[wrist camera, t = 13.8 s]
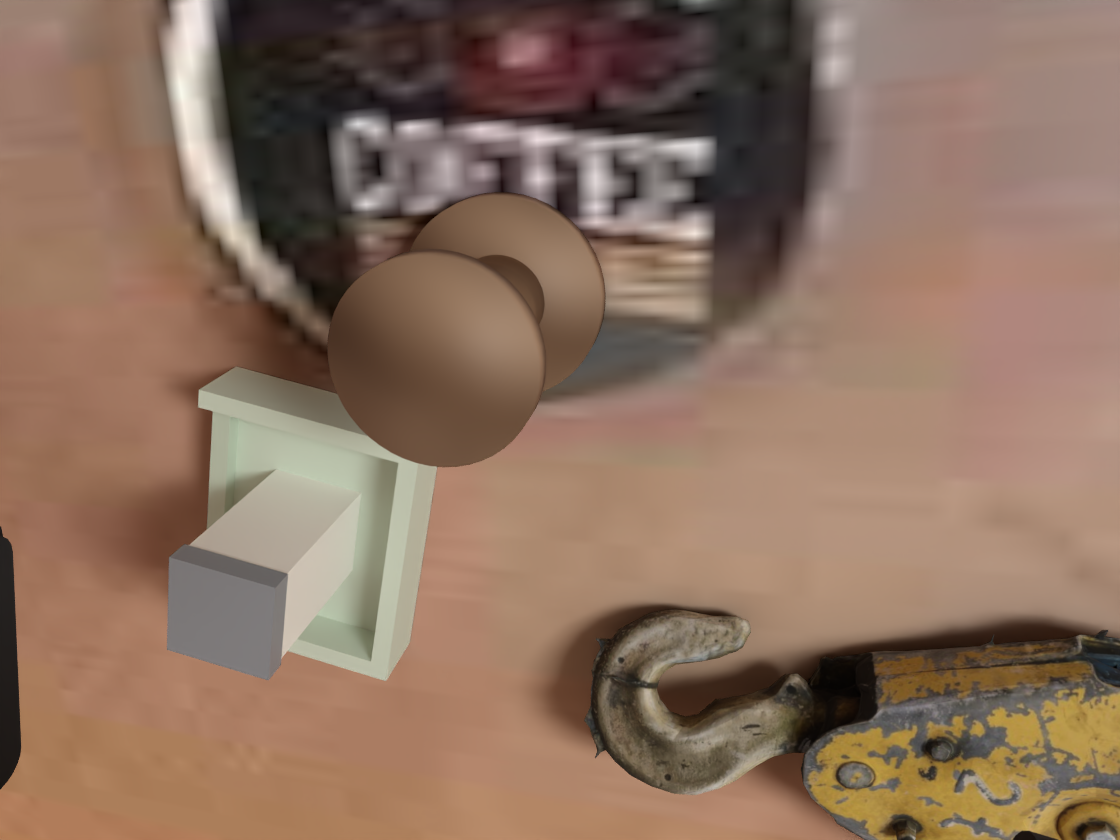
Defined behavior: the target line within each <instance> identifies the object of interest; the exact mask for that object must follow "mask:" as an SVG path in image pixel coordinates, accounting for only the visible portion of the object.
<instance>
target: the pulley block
mask: <svg viewBox="0 0 1120 840" xmlns="http://www.w3.org/2000/svg"><path fill="white" fill-rule="evenodd" d="M1107 632H1108V630H1102V631H1100V632H1099V633H1098V634H1097V635H1095V636H1091V635H1078V636H1075V637H1072V638H1067V639H1052V640H1044V641H1032V642H1012V643H1002V644H996V645H995V644H994V643H993V637H994V635H993V637H992V640H991V642H989V643H986V644H984V645H981V646H976V647H961V648H946V649H931V650H916V651H878V652H868V653H864V654H859V655H852V656H841V657H835V658H834V659H831V658H828V657H823V658H821V660H820V663H819V666H818V668H817V670H816V671H815V673H814V674H813V676H812V678H811V679H810V681H809V682H808V683H807V681H806V680H804V679H803V678H802V677H801V676H800V675H798V674H786V675H784V676H783V677H781V678H780V679H779V680H778V681H777V682H775V683H774V684H773V685H772V686H770V687H769V688H766V689H762V690H758V691H756V692H754V693H752V694H747V695H741V696H735V697H729V698H724V699H715V700H714V701H713V702H712V703H711V704H709V705H708V706H707V707H706V708H705V709H704V710H702V711H701V712H700V713H699V714H697V715H692V716H686V717H685V716H682V715H679V714H676V713H673V712H670V711H669V709H668V708H667V707H666V706H665V705H664V703H663V702H662V701H661V700H660V698H659V695H658V692H657V686H658V683H659V678H660V676H661V675H662V674H663V673H664V672H665V671H666V670H668V669H669V668H671V667H673V666H674V665H676V664H683V663H692V662H700V661H705V660H711V659H716V658H720V657H722V656H724V655H727V654H729V653H733V652H736V651H738V650H739V649H741V648H742V647H743V646H744V644H745V642H746V640H747V638H748V636H749V634H750V633H751V630H750V624H749V622H748V621H747V620H745V619H742V618H740V617H737V616H710V615H705V614H700V613H695V612H690V611H685V610H672V609H671V610H666V611H660V612H654V613H650V614H648V615H646V616H644V617H642V618H640V619H638V620H636V621H634V622H632V623H630V624H628V625H626V626H624V627H623V628H621V629H619V630H618V632H617V633H616V634H615V636H614V637H613V638H612V639H602V638H596V640H597V641H599V644H600V647H601V649H600V651H599V652H598V654H597V656H596V659H595V660H594V664H593V669H592V675H593V681H592V687H591V706H590V708H589V711H588V713H587V715H586V718H585V720H584V721H585V722H586V723H587V725H588V726H589V727H590V730H591V734H592V737H593V739H594V742H595V744H596V747H597V753H596V757H597V756H598V755H599V754H600V752H602V751H604V750H606V751H607V752H608V753H609V755H610V756H611V757H612V758H613V760H614V761H615V762H616V763H617V764H619V765H620V766H621V767H622V768H623V769H624V770H625V771H626V772H628V773H629V774H630V775H631V776H633V777H635V778H637V779H639V780H641V781H642V782H644V783H646V784H648V785H650V786H652V787H655V788H658V789H662V790H665V791H668V792H671V793H674V794H686V795H697V794H701V793H704V792H708V791H712V790H715V789H719V788H721V787H723V786H725V785H727V784H730V783H732V782H734V781H735V780H737V779H738V778H740V777H741V776H743V775H744V774H745V773H747V772H748V771H750V770H751V769H753V768H754V767H755V766H757V765H759V764H761V763H762V762H764V761H766V760H768V759H770V758H772V757H774V756H777V755H783V754H788V753H805V754H804V758H803V763H802V767H801V772H802V778H803V784H804V786H805V787H806V789H807V791H808V793H809V795H810V797H811V798H812V799H813V800H814V801H815V802H816V803H817V804H818V805H820V806H821V807H822V808H823V809H824V810H825V811H826V812H828V813H829V814H830V815H831V816H832V817H833V818H834V819H835V821H836V823H837V824H839V825H840V826H842V827H844V828H845V829H847V830H849V831H851V832H852V833H854V834H856V835H858V836H859V837H861V838H863V839H864V840H1013V838H1014V837H1015V835H1017V834H1018V833H1019V832H1021V831H1031V832H1035V833H1038V834H1041V835H1045V836H1048V837H1051V838H1055V839H1058V840H1120V639H1118V638H1111V637H1105V635H1106V633H1107ZM596 757H595V758H596Z"/></svg>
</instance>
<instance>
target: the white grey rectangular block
mask: <svg viewBox="0 0 1120 840" xmlns="http://www.w3.org/2000/svg"><path fill="white" fill-rule="evenodd" d="M360 500H361V493H360V492H357V491H353V490H349V489H346V488H342V487H339V486H335V485H331V484H328V483H324V482H320V481H317V480H313V479H309V478H306V477H302V476H298V475H295V474H291V473H287V472H284V471H280V470H275V471H274V472H273V473H271V474H270V475H269V476H268V477H267V478H266V479H265V480H263V481H262V482H261V483H260V484H259V485H258V486H256V487H255V488H254V489H253V490H252V491H251V492H250V493H248V494H247V495H246V496H245V497H244V498H243V499H241V500H240V501H239V502H238V503H237V504H236V505H235V506H233V507H232V508H231V509H230V510H229V511H228V512H226V513H225V514H224V515H223V516H222V517H221V518H220V519H218V520H217V521H216V522H215V523H214V524H213V525H212V526H210V527H209V528H208V529H207V530H206V531H205V532H203V533H202V534H201V535H200V536H199V537H198V538H197V539H195V540H194V541H193V542H192V543H191V544H190V545H186V544H184V545H183V546H182V547H180V548H179V549H178V550H177V551H176V552H175V553H173V554H172V555H171V556H170V557H169V585H168V629H167V650H170V651H173V652H177V653H180V654H183V655H186V656H190V657H193V658H196V659H200V660H203V661H206V662H209V663H213V664H216V665H219V666H223V667H226V668H229V669H233V670H236V671H239V672H242V673H246V674H249V675H252V676H256V677H259V678H262V679H265V680H269V679H270V678H271V677H272V675H273V674H274V673H275V672H276V670H277V669H278V668H279V666H280V665H281V658H282V657H283V656H284V655H285V653H286V652H287V651H288V650H289V648H290V647H291V646H292V645H293V643H294V642H295V641H296V640H297V639H298V637H299V636H300V635H301V634H302V632H303V631H304V630H305V629H306V627H307V626H308V625H309V624H310V622H311V621H312V620H313V619H314V617H315V616H316V615H317V614H318V612H319V611H320V610H321V609H322V607H323V606H324V605H325V604H326V602H327V601H328V600H329V599H330V597H331V596H332V595H333V594H334V592H335V591H336V590H337V589H338V587H339V586H340V585H341V584H342V582H343V581H344V580H345V579H346V578H347V576H348V575H349V574H350V573H351V571H352V570H353V562H354V553H355V545H356V536H357V527H358V518H359V509H360Z"/></svg>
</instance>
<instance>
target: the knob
mask: <svg viewBox="0 0 1120 840" xmlns="http://www.w3.org/2000/svg"><path fill="white" fill-rule="evenodd" d="M604 311H605V285H604V278H603V274H602V270H601V266H600V264H599V261H598V259H597V256H596V254H595V252H594V250H593V248H592V247H591V245H590V243H589V241H588V240H587V239H586V237H585V236H584V234H583V233H582V232H581V230H580V229H579V228H578V227H577V226H576V225H575V224H574V223H573V222H572V221H571V220H570V219H569V218H567V217H566V216H565V215H564V214H563V213H561V212H560V211H558V210H557V209H555V208H554V207H552V206H550V205H549V204H547V203H545V202H542V201H540V200H538V199H536V198H532V197H529V196H526V195H522V194H516V193H509V192H494V193H484V194H480V195H476V196H472V197H470V198H467V199H465V200H462V201H460V202H458V203H456V204H454V205H453V206H451V207H449V208H447V209H446V210H444V211H442V212H441V213H439V214H438V215H437V216H436V217H434V218H433V219H432V220H431V221H430V222H429V223H428V224H427V225H426V226H425V227H424V228H423V229H422V231H421V232H420V234H419V235H418V236H417V238H416V239H415V241H414V243H413V245H412V247H411V249H410V251H409V252H405V253H402V254H399V255H397V256H394V257H392V258H389V259H388V260H386V261H384V262H382V263H381V264H379V265H377V266H376V267H374V268H372V269H371V270H369V271H367V272H366V273H364V274H363V275H362V276H361V277H359V278H358V279H357V280H356V281H355V282H354V283H353V284H352V285H351V286H350V287H349V288H348V290H347V291H346V292H345V294H344V295H343V297H342V298H341V300H340V301H339V303H338V305H337V308H336V310H335V312H334V314H333V318H332V321H331V324H330V329H329V335H328V349H327V353H328V363H329V369H330V373H331V378H332V381H333V384H334V387H335V390H336V392H337V394H338V396H339V398H340V400H341V402H342V404H343V406H344V408H345V409H346V411H347V412H348V414H349V415H350V417H351V418H352V419H353V420H354V422H355V423H356V424H357V425H358V427H359V428H360V429H361V430H362V431H363V432H364V433H365V434H366V435H367V436H368V437H370V438H371V439H372V440H373V441H375V442H376V443H377V444H378V445H380V446H381V447H383V448H385V449H386V450H388V451H389V452H391V453H393V454H395V455H397V456H399V457H401V458H403V459H406V460H409V461H412V462H415V463H418V464H423V465H428V466H435V467H458V466H464V465H470V464H473V463H476V462H479V461H482V460H484V459H486V458H489V457H491V456H493V455H494V454H496V453H498V452H499V451H501V450H502V449H504V448H505V447H506V446H507V445H508V444H509V443H510V442H512V441H513V440H514V439H515V437H516V436H517V435H518V434H519V433H520V431H521V430H522V429H523V427H524V426H525V424H526V423H527V421H528V420H529V418H530V417H531V415H532V413H533V412H534V410H535V409H536V407H537V404H538V402H539V400H540V397H541V395H542V391H545V390H547V389H549V388H551V387H553V386H555V385H557V384H558V383H560V382H561V381H563V380H564V379H566V378H567V377H568V376H569V375H570V374H572V373H573V372H574V371H575V370H576V369H577V368H578V366H579V365H580V364H581V363H582V362H583V360H584V359H585V357H586V356H587V354H588V352H589V351H590V349H591V348H592V346H593V344H594V343H595V341H596V338H597V336H598V334H599V332H600V329H601V325H602V322H603V318H604Z"/></svg>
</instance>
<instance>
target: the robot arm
mask: <svg viewBox="0 0 1120 840" xmlns="http://www.w3.org/2000/svg"><path fill="white" fill-rule="evenodd" d="M20 752H21V732H20V709H19V686H18V662H17V639H16V615H15V592H14V568H13V551H12V546H11V543H10V542H9V540H8V539H6V538H4V537H3V534H2V529H1V527H0V789H1V788H2V787H3V786H4V785H5V783H6V782H7V781H8V780H9V778H10V777H11V775H12V773H13V772H14V770H15V768H16V765H17V763H18V760H19V757H20ZM1013 840H1058V839H1055V838H1051V837H1048V836H1045V835H1041V834H1038V833H1035V832H1031V831H1021V832H1019V833H1018V834H1017V835H1015V837H1014V838H1013Z"/></svg>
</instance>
